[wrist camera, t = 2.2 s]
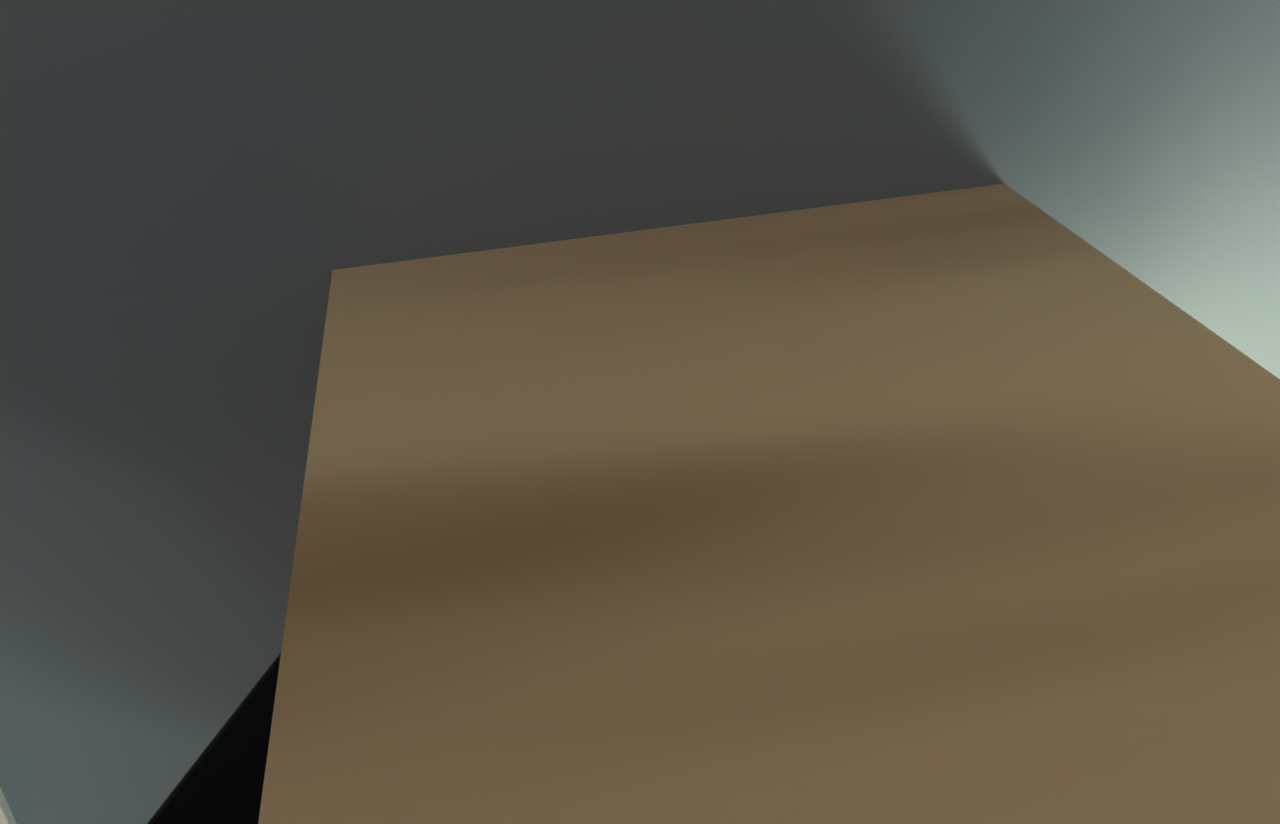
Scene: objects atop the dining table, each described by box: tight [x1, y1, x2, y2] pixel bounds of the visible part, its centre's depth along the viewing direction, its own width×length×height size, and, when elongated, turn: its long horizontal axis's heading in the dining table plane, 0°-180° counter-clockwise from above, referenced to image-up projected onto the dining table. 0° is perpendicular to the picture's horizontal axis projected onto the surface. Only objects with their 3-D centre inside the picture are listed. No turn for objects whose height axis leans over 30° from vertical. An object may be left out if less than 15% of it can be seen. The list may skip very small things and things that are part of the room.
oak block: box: [258, 183, 1280, 824], centre depth 6 cm, size 4×4×6 cm
